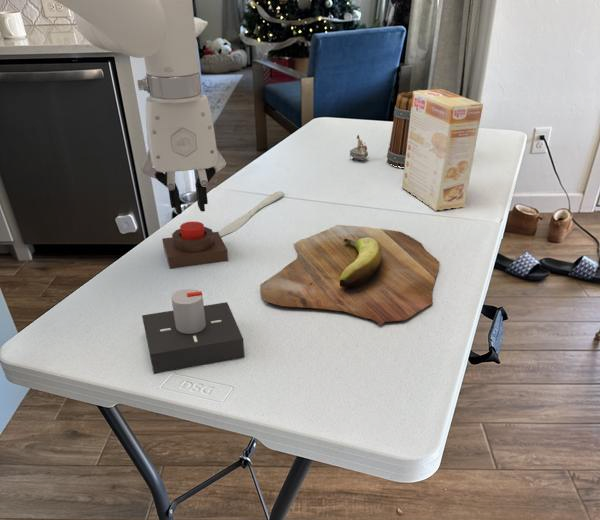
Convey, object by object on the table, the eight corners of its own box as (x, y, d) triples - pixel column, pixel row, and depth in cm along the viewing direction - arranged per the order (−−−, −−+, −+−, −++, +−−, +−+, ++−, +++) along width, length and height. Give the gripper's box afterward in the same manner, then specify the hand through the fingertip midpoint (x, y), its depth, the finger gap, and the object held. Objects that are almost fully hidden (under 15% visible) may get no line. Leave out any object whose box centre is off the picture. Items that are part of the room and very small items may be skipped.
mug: (426, 172, 136) (435, 102, 127) (382, 167, 139) (388, 98, 129) (435, 153, 148) (445, 88, 138) (395, 149, 150) (401, 85, 141)
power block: (170, 269, 97) (166, 247, 94) (164, 250, 103) (160, 228, 100) (228, 261, 99) (226, 239, 97) (219, 243, 105) (217, 221, 103)
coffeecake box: (465, 207, 119) (485, 103, 106) (435, 212, 117) (451, 106, 104) (429, 184, 130) (442, 87, 117) (400, 188, 128) (411, 90, 115)
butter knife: (289, 192, 124) (277, 189, 125) (219, 240, 105) (205, 236, 106) (289, 195, 124) (277, 192, 125) (219, 243, 106) (205, 239, 107)
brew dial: (178, 336, 75) (173, 303, 72) (174, 320, 78) (169, 289, 75) (208, 331, 76) (204, 299, 73) (203, 316, 79) (199, 284, 76)
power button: (183, 241, 97) (181, 231, 96) (179, 232, 100) (178, 222, 99) (206, 238, 98) (205, 229, 97) (202, 229, 101) (201, 220, 100)
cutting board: (427, 334, 81) (431, 311, 79) (244, 308, 87) (243, 285, 84) (447, 236, 107) (450, 216, 105) (305, 221, 113) (305, 201, 111)
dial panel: (153, 373, 74) (149, 353, 72) (145, 333, 81) (141, 314, 80) (244, 357, 77) (243, 337, 75) (228, 320, 84) (227, 300, 82)
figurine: (346, 158, 145) (347, 132, 141) (361, 156, 146) (363, 130, 142) (356, 164, 141) (358, 138, 137) (372, 162, 142) (374, 136, 139)
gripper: (119, 95, 80) (142, 224, 91) (235, 88, 84) (243, 212, 95) (115, 85, 85) (137, 207, 97) (224, 78, 89) (233, 197, 101)
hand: (189, 209), depth 96 cm, fingers open, 3 cm apart
